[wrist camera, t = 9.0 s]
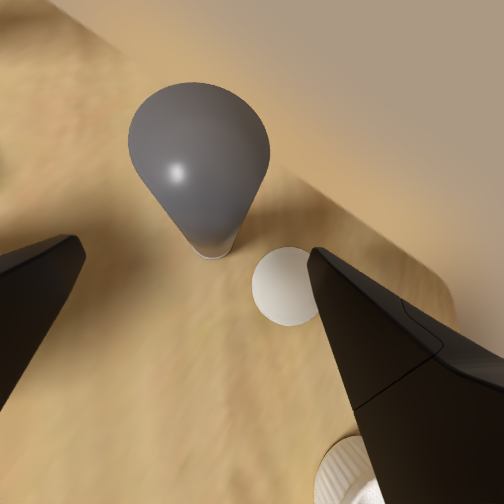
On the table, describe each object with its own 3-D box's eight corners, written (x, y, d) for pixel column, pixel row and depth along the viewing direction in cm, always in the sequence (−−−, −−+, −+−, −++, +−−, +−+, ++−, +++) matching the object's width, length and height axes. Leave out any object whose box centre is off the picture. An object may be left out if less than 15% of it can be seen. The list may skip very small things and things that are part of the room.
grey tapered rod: (239, 234, 18) (294, 131, 5) (219, 267, 17) (228, 240, 5) (205, 213, 18) (179, 55, 5) (183, 247, 17) (92, 159, 4)
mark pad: (336, 270, 19) (338, 270, 19) (305, 339, 18) (306, 340, 18) (274, 233, 19) (275, 232, 18) (237, 301, 17) (237, 301, 17)
